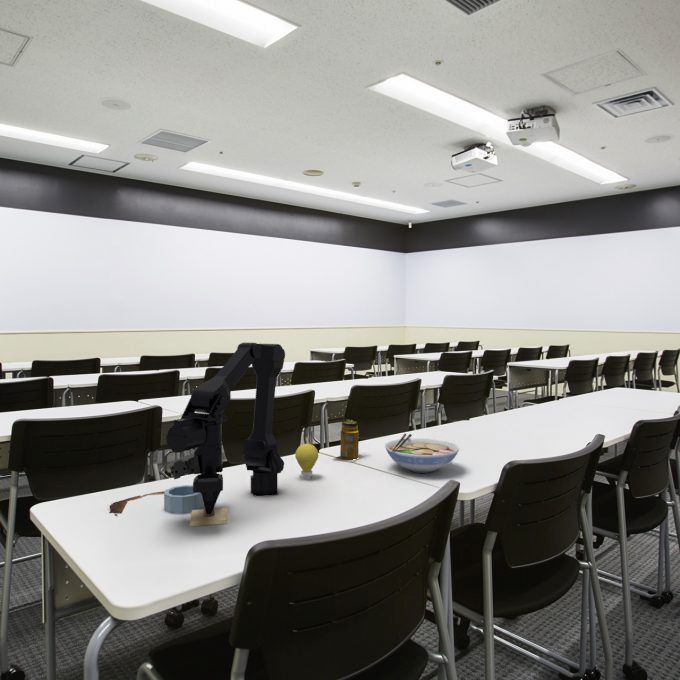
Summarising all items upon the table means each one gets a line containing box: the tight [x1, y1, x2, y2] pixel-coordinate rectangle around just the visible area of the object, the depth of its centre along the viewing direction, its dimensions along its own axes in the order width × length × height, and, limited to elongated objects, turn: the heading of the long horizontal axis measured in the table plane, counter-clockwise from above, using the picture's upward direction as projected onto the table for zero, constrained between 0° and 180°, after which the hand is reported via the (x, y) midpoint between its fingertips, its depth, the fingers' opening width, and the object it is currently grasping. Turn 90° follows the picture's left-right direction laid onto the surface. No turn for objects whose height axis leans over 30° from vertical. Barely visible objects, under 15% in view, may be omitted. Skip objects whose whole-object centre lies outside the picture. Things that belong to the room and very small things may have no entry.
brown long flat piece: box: [108, 490, 165, 517], centre depth 137 cm, size 25×10×1 cm, turn 130°
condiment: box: [333, 420, 363, 463], centre depth 180 cm, size 7×8×12 cm
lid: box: [189, 506, 228, 527], centre depth 123 cm, size 8×8×6 cm
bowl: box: [163, 484, 204, 515], centre depth 131 cm, size 9×9×4 cm
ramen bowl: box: [384, 433, 460, 474], centre depth 167 cm, size 25×23×8 cm
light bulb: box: [294, 443, 319, 480], centre depth 157 cm, size 7×7×10 cm
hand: (209, 511), depth 123 cm, fingers open, 3 cm apart
